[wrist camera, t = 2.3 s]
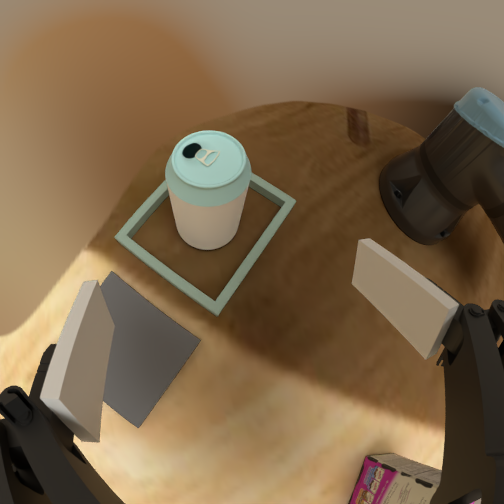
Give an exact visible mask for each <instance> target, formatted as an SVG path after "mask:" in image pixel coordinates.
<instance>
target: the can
mask: <svg viewBox="0 0 504 504" xmlns="http://www.w3.org/2000/svg"><path fill="white" fill-rule="evenodd" d="M165 176H166V182H167V186H168V191H169V196H170V200H171V205H172V209H173V213H174V218H175V222H176V226H177V230H178V233H179V234H180V236H181V238H182V239H183V240H184V241H185V242H186V243H188V244H189V245H191V246H193V247H195V248H198V249H202V250H212V249H217V248H220V247H222V246H224V245H225V244H227V243H228V242H229V241H230V240H231V239H232V238H233V237H234V236H235V234H236V232H237V229H238V226H239V222H240V218H241V214H242V210H243V206H244V202H245V198H246V194H247V191H248V187H249V183H250V179H251V165H250V162H249V159H248V157H247V156H246V153H245V150H244V148H243V146H242V145H241V144H240V143H239V141H237V140H236V139H235V138H234V137H232V136H230V135H228V134H226V133H223V132H219V131H200V132H196V133H193V134H190V135H188V136H186V137H185V138H183V139H182V140H181V141H180V142H179V143H178V144H177V145H176V146H175V148H174V150H173V152H172V155H171V156H170V158H169V160H168V162H167V166H166V171H165Z"/></svg>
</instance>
